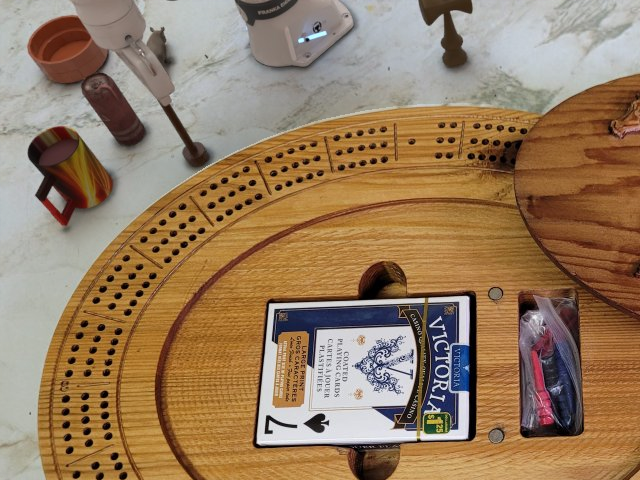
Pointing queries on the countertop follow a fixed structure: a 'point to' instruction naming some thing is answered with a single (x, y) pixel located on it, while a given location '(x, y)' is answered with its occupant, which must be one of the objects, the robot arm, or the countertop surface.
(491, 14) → the countertop surface
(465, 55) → the kendama
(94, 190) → the mug
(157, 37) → the rhino figurine
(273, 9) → the robot arm
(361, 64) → the countertop surface
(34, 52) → the bowl
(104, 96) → the can
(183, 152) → the disc-capped wooden dowel
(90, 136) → the countertop surface
